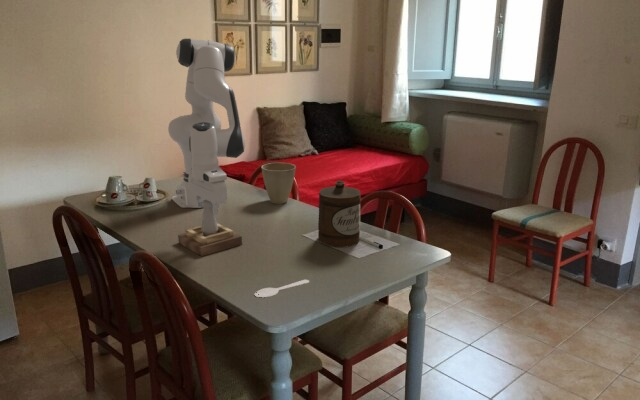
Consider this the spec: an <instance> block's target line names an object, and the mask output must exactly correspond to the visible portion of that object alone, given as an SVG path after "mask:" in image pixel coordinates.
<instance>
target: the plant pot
mask: <svg viewBox="0 0 640 400" xmlns="http://www.w3.org/2000/svg"><path fill="white" fill-rule="evenodd" d="M261 173H262V178H263V183H264V185H265V189H266V190H265V191H266V192H267V196H268V198H269V201H270V203H272V204H278V205H279V204H285V203H287V202H288V201H289V197H290V195H291V191H292V189H293V184H294V180H295V175H296V174H295V173H296V165H295V164H294V163H293V164H292V163H288V162H270V163H266V164H263V165H261Z"/></svg>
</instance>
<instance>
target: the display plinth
mask: <svg viewBox="0 0 640 400" xmlns="http://www.w3.org/2000/svg"><path fill="white" fill-rule="evenodd" d="M201 226H202V225H199V226H195V227H189V228H187V229H185V232H184V233H179V234H178V235H177V237H178V238H177V239H178V244H181V246H184V247H186V248H187V249H189V250H190V251H192V252H194V253H195V254H197V255H199V256H200V257H203V256H206V255H210V254H213V253H217V252H221V251H224V250H227V249H230V248H234V247H238V246H241V245H243V236H242V235H240V234H237V233H236V232H235V231H234V230H233V229H231V228H228V227H226V226H225V225H222V224H220V223H219V222H217V226H218V231H217V234H213V235H210V236H206V237H205V236H204V235H203V233H202V231H201Z"/></svg>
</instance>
